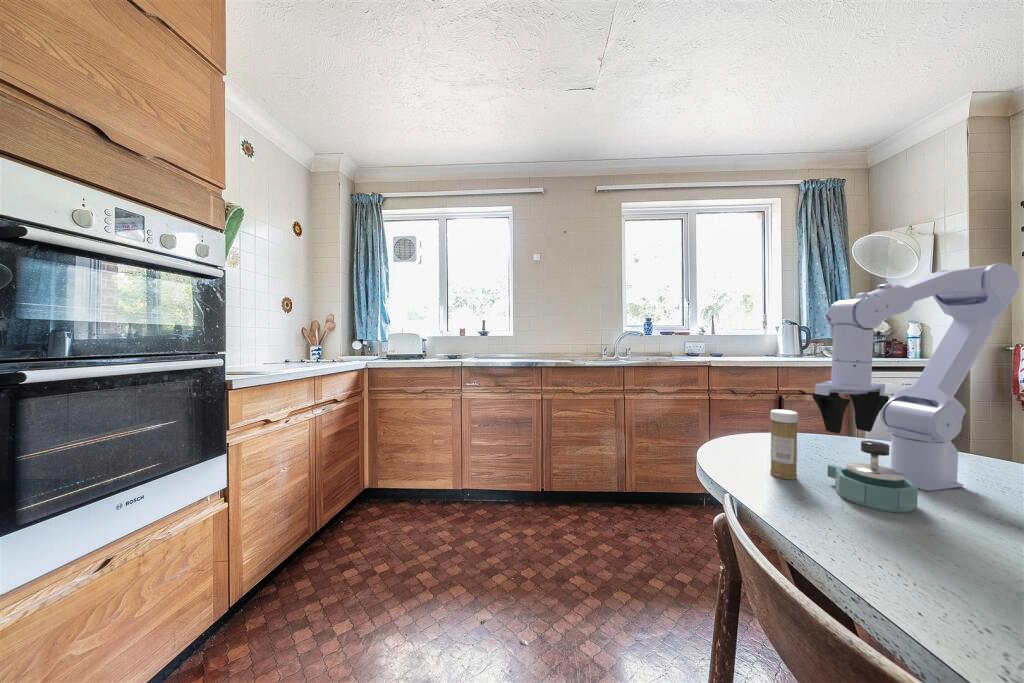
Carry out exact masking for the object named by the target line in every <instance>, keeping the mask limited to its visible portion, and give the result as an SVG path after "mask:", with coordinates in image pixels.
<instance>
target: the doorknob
mask: <svg viewBox="0 0 1024 683" xmlns="http://www.w3.org/2000/svg"><path fill="white" fill-rule="evenodd" d="M860 451H861V452H863V453H865V454H869V455H870V463H865V462H850V463H847V464H846V468H847V470H848V471H850V472H852V473H854V474H856V475H859V476H862V477H866V478H870V479H875V480H881V481H889V482H900V481H903V480H904V475H903V474H902V473H900V472H898V471H896V470H893V469H891V467H886V466H882V465H879V457H880V456H881V457H882V456H884V457H885V456H890V445H889V444H888V443H883V442H878V441H873V440H861V441H860Z"/></svg>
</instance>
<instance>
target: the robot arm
mask: <svg viewBox="0 0 1024 683" xmlns="http://www.w3.org/2000/svg"><path fill="white" fill-rule="evenodd" d="M876 287H877V289H874V290H872V291H869V292H859V293H857V294H856V295H855V297H854V298H852V299H841V300H840V299H839V300H838V301H835V302H834V303H832V304H831V306H830V307H829V309H828V310H827V313H825V314H824V318H825V321H826V323H827V325H828V326H829V329H830V330H829V331H830V332H829V334H830V335H831V337H832V349H831V350H832V355H831V374H830V377H831V378H830V379H831V380H827V381H825V382H822V383H815V387H814V392H812V396H811V397H812V399H813V400H814V402H815V403H816V405H817V407H818V409H819V411H820V413H821V417H822V420H823V424H824V427H825V431H826V432H830V433H832V434H833V433H834V434H841V430H842V428H843V419H844V414H845V412H846V409H847V407H848V405H849V403H850V402H852V404H853V410H854V421H855V423H854V424H855V428H856V430H858V431H859V430H860V431H864V432H868V433H869V432H872V429H873V428H874V425H875V423H876V420H877V417H878V415H879V416H880V420H881V423H882V424H883V425H884V426H885V427H886V428H887V432H888V433H891V444H890V445H891V446H890V448H891V450H890V469H893V470H896V471H898V472H900V473H902V474H903V475H904V479H908V480H910V481H911V482H912V483H913V484H914V485H915V486H916V487H917V488H918V489H921V490H924V491H928V492H930V491H936V490H946V489H954V488H960V487H961V488H962V487H964V485H965V484H964V483H962V482H958V468H959V466H958V465H959V462H958V461H959V452H958V448H956V446H955V445H954V443H953V442H952V440H953V439H955V438H956V437H957V436H958V435H959V434H960V432H961V431H962V426H963V418H964V416H965V414H966V412H967V410H966V408H965V407H964V406H963V404H962V403H960V401H959V400H958V399H957V398H955V397H954V396H955V395H956V393H957V391H958V390H959V388H960V386H961V385H962V383H963V382H964V380H965V378H966V377H967V375H968V373H969V372H970V370H971V368H972V367H973V365H974V363H975V362H976V360H977V358H978V356H979V354H981V352H982V350H983V348H984V347H985V344H986V343H987V341H988V340H989V338H990V336H991V335H992V333H993V331H994V330H995V328H996V326H997V325H998V324H999V321H1000V318H1001V316H1002V314H1003V313H1005V312H1006V311H1007V309H1008V307H1009V306H1010V304H1011V302H1012V301H1013V299H1014V297H1015V296H1016V294H1017V293H1018V291H1019V289H1020V287H1021V285H1020V281H1019V277H1018V274H1017V271H1016V270H1015V269H1014V268H1013V267H1012V266H1011V265H1009V263H1005V262H1000V263H999V262H998V263H993V264H990V265H989V264H987V265H981V266H973V267H966V268H958V269H951V270H948V269H944V270H940V271H936V272H932V273H929V274H928V275H927V276H924V277H922V278H920V279H917V280H915V281H912V282H910V283H908V284H906V285H901V284H891V283H890V282H889V283H881V284H879V285H877V286H876ZM929 297H933V299H934V300H935V302H936V303H937V305H938V306H939V308H940V309H941V311H942V312H943V313H944V315H947V316H950V317H952V319H953V320H952V322H951V323H950V325H949V326H948V328H947V330H946V332H945V333H944V335H943V337H942V338H941V340H940V342H939V343H938V345H937V347H936V349H935V350H934V352H933V353H932V355H931V357H930V358H929V360H928V362H927V364H926V366H925V367H924V368H923V370H922V372H921V373H920V374H919V377H918V379H917V380H916V382H915V383H914V385H910V386H907V387H906V388H902V389H899V390H897V391H895V393H894V395H893V396H892V397H891V398H890V397H889V395H885V394H886V384H885V383H880V382H879V383H877V382H872V374H873V372H872V371H873V350H874V349H873V348H874V333H875V332H874V329H875V328H876V329H877V328H878V327H880V325H881V324H882V323H883V321H884V320H887V319H889V318H891V317H893V316H897V315H900V314H903V313H905V312H907V311H909V310H910V309H911V308H912V307H913V305H914V303H915V302H917V301H920V300H924V299H928V298H929ZM842 395H849V397H850V398H845V397H841V396H842Z"/></svg>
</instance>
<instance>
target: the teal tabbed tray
mask: <svg viewBox="0 0 1024 683" xmlns="http://www.w3.org/2000/svg"><path fill="white" fill-rule="evenodd" d="M827 477H828V478H832V479H834V481H835V482H834V485H835V492H836V494H837V495H838V496H839V497H841V498H842V499H844V500H846V501H848V502H850V503H854V504H856V505H859V506H862V507H865V508H869V509H873V510H876V511H881V512H882V511H883V512H888V513H895V514H896V513H898V514H907V513H908V514H909V513H913V512H914V511H915V510H916V507H918V492H919V490H918V489H919V488H917V487H916V486H915V485H914V484H913V483H912V482H911V481H910V480H908V479H904V480H903V481H900V482H889V481H881V480H875V479H870V478H866V477H862V476H859V475H856V474H854V473H852V472H850V471H848V470H847V467H842V466H839V465H836V464H828V465H827Z"/></svg>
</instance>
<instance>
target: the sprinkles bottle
mask: <svg viewBox="0 0 1024 683" xmlns="http://www.w3.org/2000/svg"><path fill="white" fill-rule="evenodd" d="M769 417H770V423H771V424H770V425H771V426H770V427H771V428H770V470H769V471H770V474H771V475H772V476H774V477H777V478H778V479H783V480H796V479H797V477H798V474H797V463H798V446H797V445H798V437H797V436H798V428H797V427H798V422H799V413H798V412H797V411H794V410H790V409H782V408H781V409H777V408H775V409H771V410H770V416H769Z"/></svg>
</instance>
